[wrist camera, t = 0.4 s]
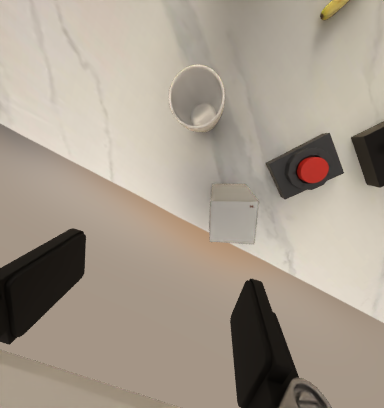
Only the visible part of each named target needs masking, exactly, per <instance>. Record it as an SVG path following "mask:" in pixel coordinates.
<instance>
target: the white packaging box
mask: <svg viewBox="0 0 384 408" xmlns="http://www.w3.org/2000/svg"><path fill="white" fill-rule="evenodd" d="M258 205H259V201H258V199H257V198H256V197H255V196H254V194H253V193H252V192H251V190H250V189H249V188H248V187H247V185H246V184H212V190H211V201H210V221H209V229H210V242H227V243H242V244H254V243H255V234H256V225H257V215H258Z"/></svg>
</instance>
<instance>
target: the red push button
mask: <svg viewBox="0 0 384 408" xmlns="http://www.w3.org/2000/svg"><path fill="white" fill-rule="evenodd" d="M328 171H329V166H328V163H327V161H326V160H324V159H323V158H319V157H308V158H305V159H304V160H302V161H301V162H300V163H299V165H298V167H297V175H298V177H299V178H300V179H301V180H303V181H305V182H308V183H317V182H319V181H321V180H323V179H324V178H325V177H326V175H327V173H328Z"/></svg>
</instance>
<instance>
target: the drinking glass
mask: <svg viewBox="0 0 384 408" xmlns="http://www.w3.org/2000/svg"><path fill="white" fill-rule="evenodd" d="M224 103H225V90H224V86H223V83H222V80H221V78H220V77H219V75H218V74H217V73H216V72H215V71H214V70H213V69H211V68H210V67H208V66H205V65H199V64H198V65H191V66H188V67H186V68H184V69H183V70H181V71H180V72H179V73H178V74H177V75H176V77H175V78H174V80H173V82H172V84H171V86H170V90H169V105H170V109H171V112H172V114H173V115H174V117H175V118H176V120H177V121H178V122H179V123H180V124H181V125H183V126H184V127H185V128H187V129H189V130H191V131H195V132H207V131H210V130H211V129H212V128H213V127H214V126H215V125H216V123H217V122H218V121H219V119H220V117H221V115H222V112H223V109H224Z"/></svg>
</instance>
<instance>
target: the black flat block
mask: <svg viewBox="0 0 384 408" xmlns="http://www.w3.org/2000/svg"><path fill="white" fill-rule="evenodd" d="M351 139H352V142H353V145H354V148H355V151H356V154H357V157H358V160H359V163H360V166H361V169H362V172H363V175H364V177H365V180H366V183H367V184H368V185H372V186H376V187H383V186H384V122H382V123H379V124H377V125H375V126H373V127H371V128H369V129H367V130H365V131H363V132H361V133H359V134H357V135H355V136H353V137H351Z"/></svg>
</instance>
